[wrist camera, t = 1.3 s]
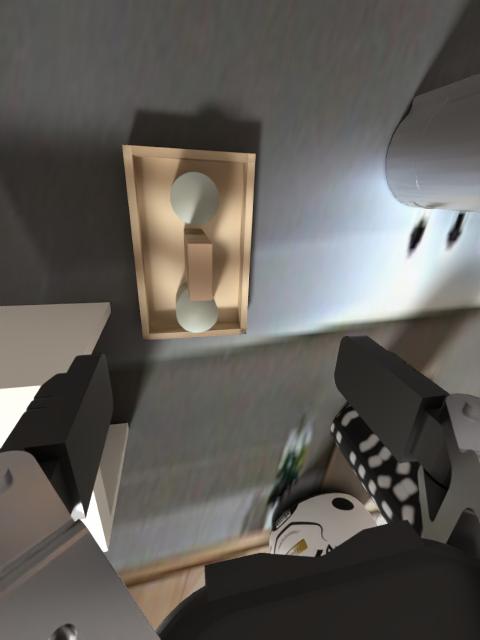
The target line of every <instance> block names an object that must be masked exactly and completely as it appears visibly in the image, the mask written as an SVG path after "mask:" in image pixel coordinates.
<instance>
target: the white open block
mask: <svg viewBox="0 0 480 640" xmlns="http://www.w3.org/2000/svg"><path fill="white" fill-rule="evenodd" d="M110 313H111V307H110V302H104V303H76V304H48V305H20V306H0V448H1V447H2V445H3V444H4V442H5V441H6V439H7V438H8V436H9V435H10V433H11V431H12V430H13V428H14V427H15V425H16V424H17V422H18V421H19V419H20V418H21V416H22V415H23V413H24V412H26V409H27V407H28V405H29V404H30V402H31V401H32V400H34V396H35V395H36V393H37V392H38V390H39V389H40V387H41V386H42V385H43V384H44V383H45V382H46V381H48V380H49V379H50V378H52V377H53V376H54V375H56V374H58V373H67V371H68V369H69V367H70V365H71V364H72V362H73V360H74V358H75V357H76V356H77V355H90V354H92V351H93V349H94V347H95V345H96V343H97V341H98V339H99V337H100V335H101V332H102V330H103V328H104V326H105V324H106V322H107V320H108V318H109V315H110ZM128 431H129V427H128V423H122V424H113V425H110V426H109V430H108V434H107V438H106V442H105V445H104V449H103V453H102V457H101V461H100V465H99V469H98V473H97V477H96V481H95V485H94V489H93V492H92V496H91V500H90V504H89V508H88V512H87V516H86V519H81V521H82V522H83V523H84V524H85V525H86V527H87V528H88V530H89V531H90V533H91V534H92V536H93V537H94V539H95V540H96V542H97V543H98V545H99V546H100V548H101V549H102V551H103V552H104V551H108V547H109V542H110V536H111V530H112V524H113V518H114V513H115V507H116V501H117V495H118V489H119V484H120V478H121V472H122V466H123V460H124V455H125V449H126V443H127V437H128ZM75 521H76V520H75Z"/></svg>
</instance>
